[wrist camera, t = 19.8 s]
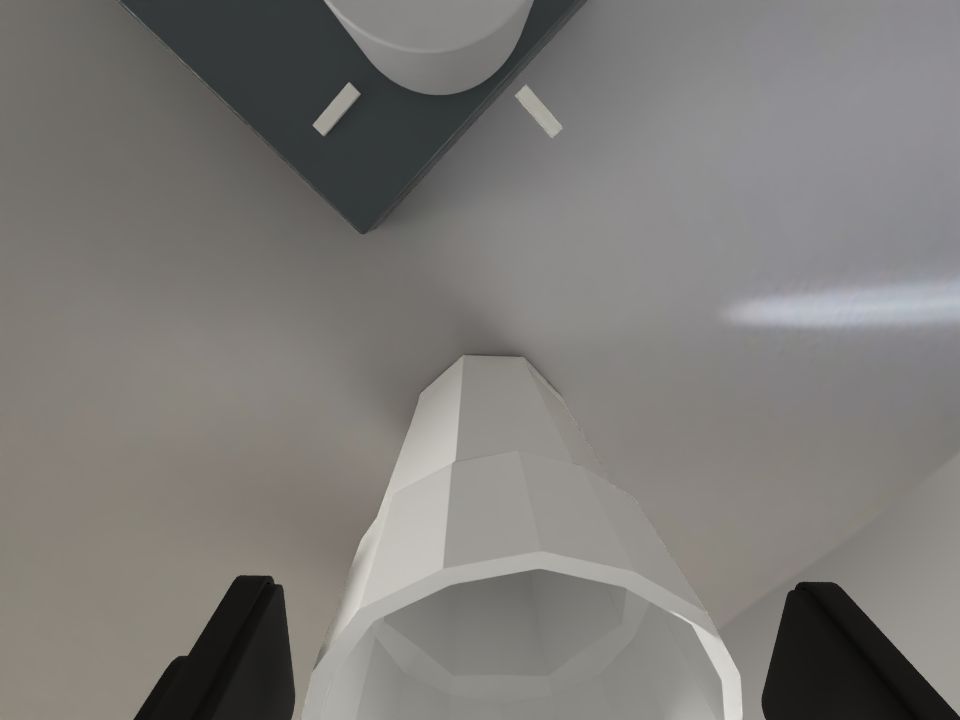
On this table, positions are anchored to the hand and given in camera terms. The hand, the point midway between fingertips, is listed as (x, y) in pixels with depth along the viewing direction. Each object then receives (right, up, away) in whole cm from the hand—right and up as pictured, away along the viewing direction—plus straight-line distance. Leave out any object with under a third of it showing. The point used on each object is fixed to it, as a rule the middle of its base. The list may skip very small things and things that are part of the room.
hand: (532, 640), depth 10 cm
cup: (-1, +3, +9) cm, 9 cm away
